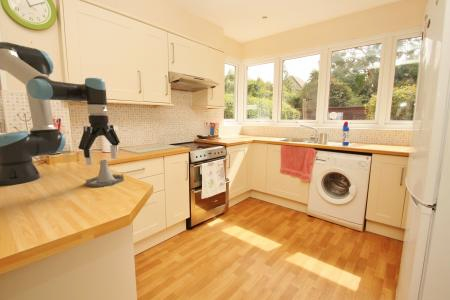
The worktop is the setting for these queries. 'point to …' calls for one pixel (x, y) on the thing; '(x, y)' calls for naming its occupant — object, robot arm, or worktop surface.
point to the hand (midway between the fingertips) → (102, 161)
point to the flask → (104, 173)
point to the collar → (88, 182)
